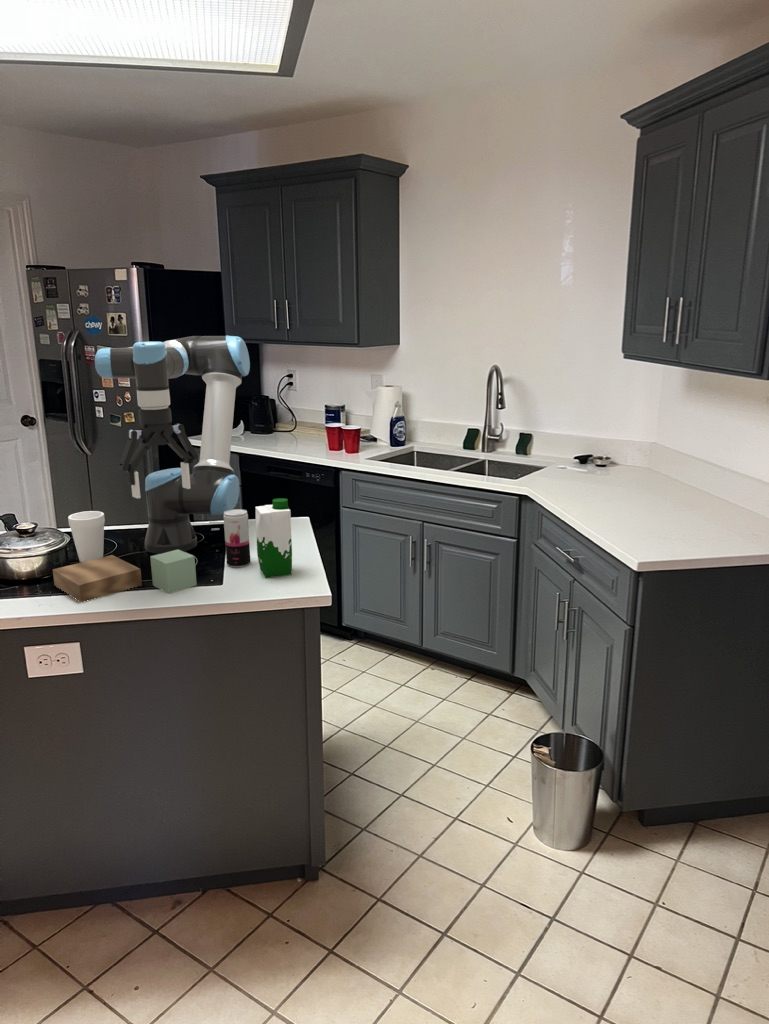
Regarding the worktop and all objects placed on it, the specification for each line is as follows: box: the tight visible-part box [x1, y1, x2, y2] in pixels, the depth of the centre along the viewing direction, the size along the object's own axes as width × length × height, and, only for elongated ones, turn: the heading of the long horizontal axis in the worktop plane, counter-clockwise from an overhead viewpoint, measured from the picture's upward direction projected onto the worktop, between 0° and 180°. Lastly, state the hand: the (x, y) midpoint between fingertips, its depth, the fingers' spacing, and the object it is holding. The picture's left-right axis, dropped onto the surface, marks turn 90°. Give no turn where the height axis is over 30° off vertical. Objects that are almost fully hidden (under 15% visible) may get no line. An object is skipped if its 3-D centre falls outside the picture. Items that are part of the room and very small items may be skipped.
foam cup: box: [67, 510, 106, 563], centre depth 213 cm, size 10×9×13 cm
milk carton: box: [255, 497, 293, 579], centre depth 200 cm, size 9×9×20 cm
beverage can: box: [223, 508, 251, 568], centre depth 208 cm, size 6×7×15 cm
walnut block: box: [52, 554, 143, 603], centre depth 194 cm, size 16×16×5 cm
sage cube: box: [150, 549, 198, 594], centre depth 193 cm, size 8×8×8 cm
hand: (162, 492), depth 187 cm, fingers open, 13 cm apart
